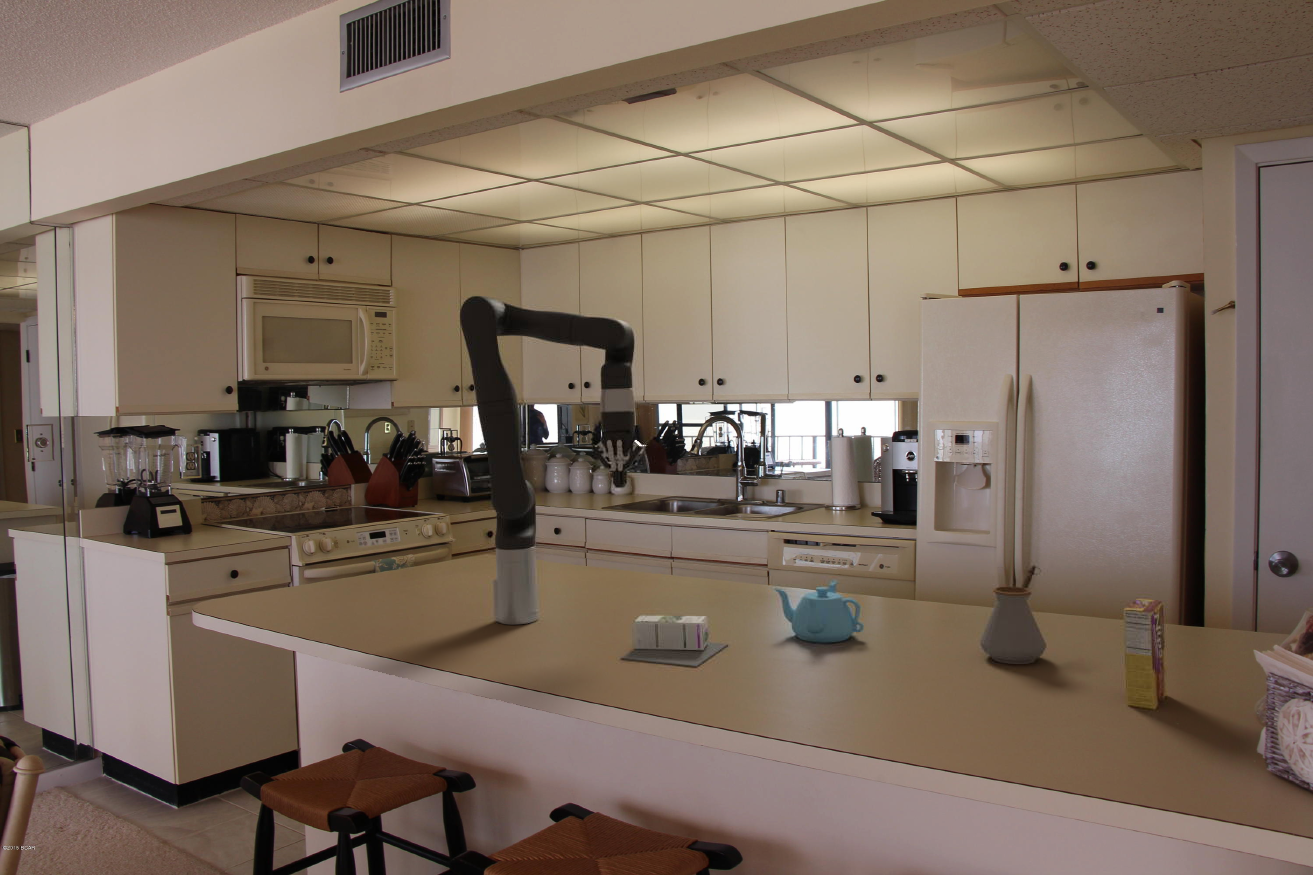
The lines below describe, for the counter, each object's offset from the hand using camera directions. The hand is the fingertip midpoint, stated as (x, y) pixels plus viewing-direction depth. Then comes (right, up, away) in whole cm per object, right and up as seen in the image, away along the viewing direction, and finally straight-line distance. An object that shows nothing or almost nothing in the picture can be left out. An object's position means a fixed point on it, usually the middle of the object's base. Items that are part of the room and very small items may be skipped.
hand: (620, 487), depth 201 cm
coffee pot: (+77, -30, -30) cm, 88 cm away
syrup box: (+4, -28, -18) cm, 33 cm away
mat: (+12, -32, -22) cm, 40 cm away
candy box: (+86, -31, -58) cm, 108 cm away
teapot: (+42, -30, -13) cm, 53 cm away
